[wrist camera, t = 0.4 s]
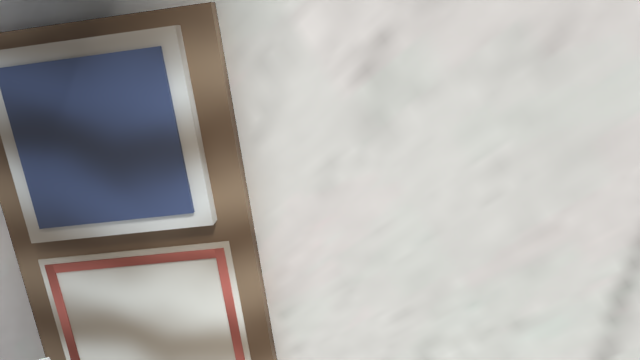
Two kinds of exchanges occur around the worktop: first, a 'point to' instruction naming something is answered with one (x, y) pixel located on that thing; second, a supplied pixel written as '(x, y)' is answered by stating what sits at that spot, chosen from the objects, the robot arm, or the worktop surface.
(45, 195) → the stamping board
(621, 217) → the worktop surface
